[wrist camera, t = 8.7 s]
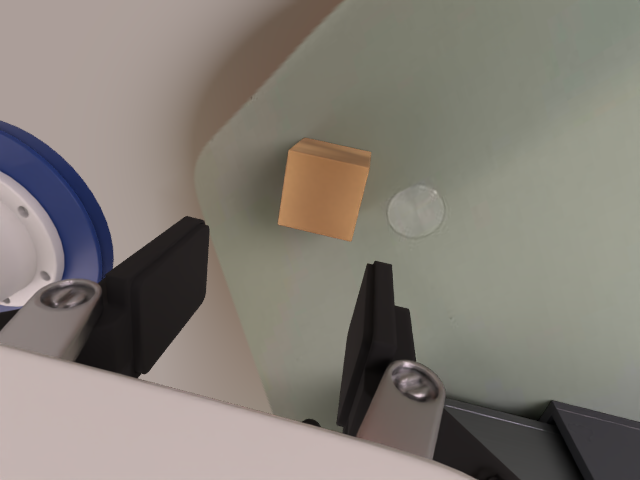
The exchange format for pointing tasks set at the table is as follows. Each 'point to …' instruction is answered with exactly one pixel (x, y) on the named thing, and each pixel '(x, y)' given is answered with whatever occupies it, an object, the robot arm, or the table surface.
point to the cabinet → (598, 441)
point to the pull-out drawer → (515, 442)
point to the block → (323, 188)
